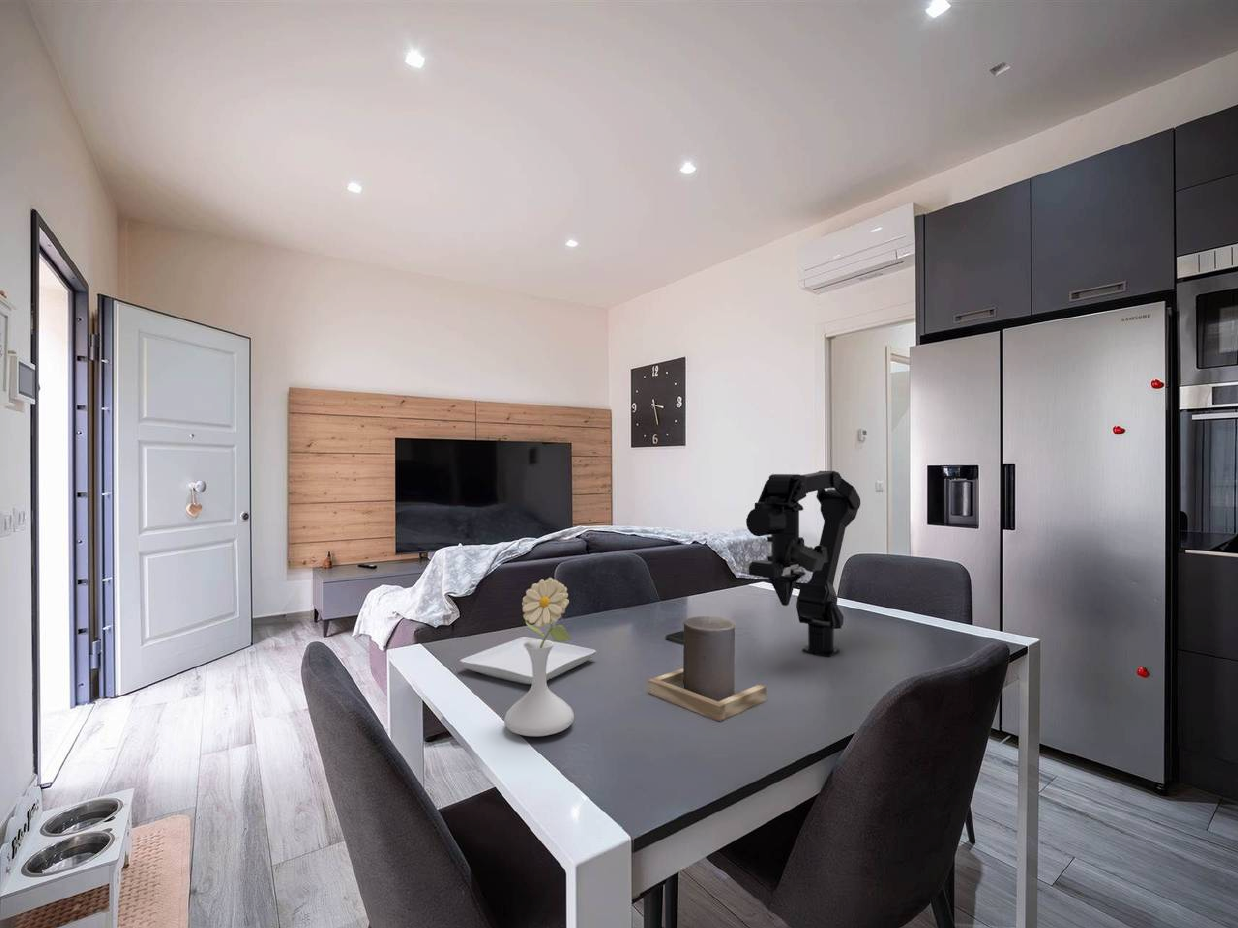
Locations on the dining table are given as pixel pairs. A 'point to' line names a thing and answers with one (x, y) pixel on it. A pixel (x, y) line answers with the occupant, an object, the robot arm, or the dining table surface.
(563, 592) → the flower in vase
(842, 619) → the robot arm
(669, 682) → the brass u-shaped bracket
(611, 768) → the dining table surface
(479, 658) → the salad plate
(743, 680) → the dining table surface
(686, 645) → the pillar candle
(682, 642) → the phone
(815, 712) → the dining table surface
